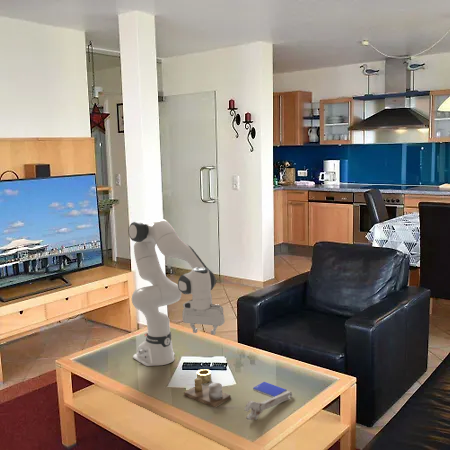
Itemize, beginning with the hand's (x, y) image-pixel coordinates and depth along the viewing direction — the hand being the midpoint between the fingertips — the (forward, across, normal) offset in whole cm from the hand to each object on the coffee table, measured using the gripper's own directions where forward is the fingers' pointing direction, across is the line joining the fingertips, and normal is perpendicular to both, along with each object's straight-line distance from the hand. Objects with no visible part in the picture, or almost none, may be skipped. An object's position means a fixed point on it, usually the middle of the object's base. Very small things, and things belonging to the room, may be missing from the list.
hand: (204, 333), depth 246 cm
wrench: (+25, -36, +14) cm, 46 cm away
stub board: (+23, -7, +14) cm, 28 cm away
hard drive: (+24, -30, -2) cm, 39 cm away
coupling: (+22, +2, 0) cm, 22 cm away
